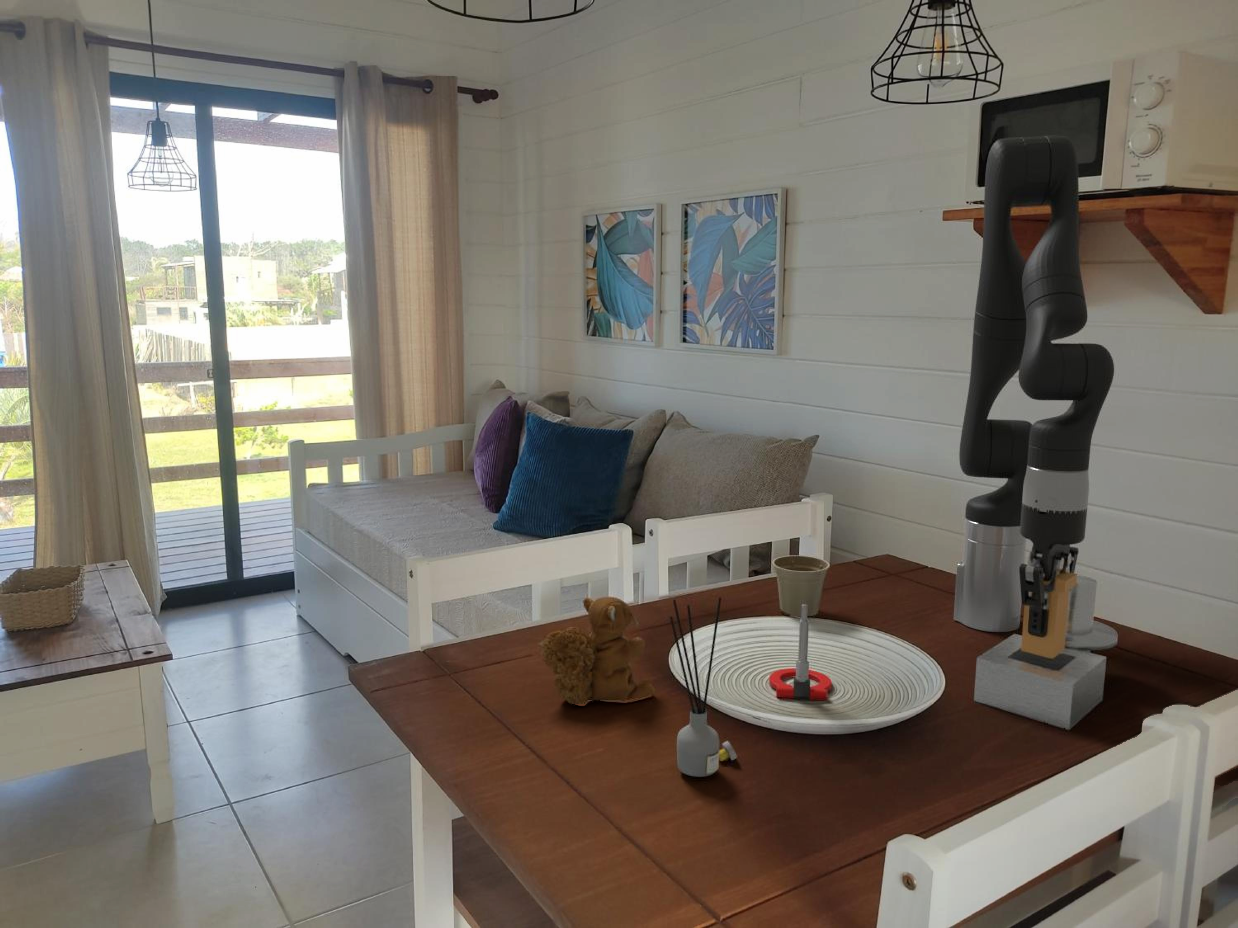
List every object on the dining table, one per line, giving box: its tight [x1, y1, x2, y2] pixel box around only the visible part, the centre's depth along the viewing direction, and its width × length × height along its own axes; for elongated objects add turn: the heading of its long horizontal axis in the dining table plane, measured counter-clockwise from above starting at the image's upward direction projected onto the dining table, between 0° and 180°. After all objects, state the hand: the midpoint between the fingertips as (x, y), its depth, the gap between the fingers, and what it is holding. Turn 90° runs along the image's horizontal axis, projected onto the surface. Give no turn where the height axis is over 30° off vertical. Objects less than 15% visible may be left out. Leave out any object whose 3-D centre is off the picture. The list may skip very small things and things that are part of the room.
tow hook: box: [768, 604, 833, 701], centre depth 126 cm, size 8×13×9 cm
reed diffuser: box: [669, 596, 738, 778], centre depth 104 cm, size 10×7×20 cm
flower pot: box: [771, 554, 831, 618], centre depth 156 cm, size 9×9×9 cm
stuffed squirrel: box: [538, 596, 656, 704], centre depth 124 cm, size 10×14×13 cm
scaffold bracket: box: [973, 574, 1119, 731], centre depth 125 cm, size 12×22×14 cm, turn 135°
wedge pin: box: [1021, 572, 1078, 659], centre depth 120 cm, size 6×4×10 cm
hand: (1043, 630), depth 121 cm, fingers closed on wedge pin, 4 cm apart
